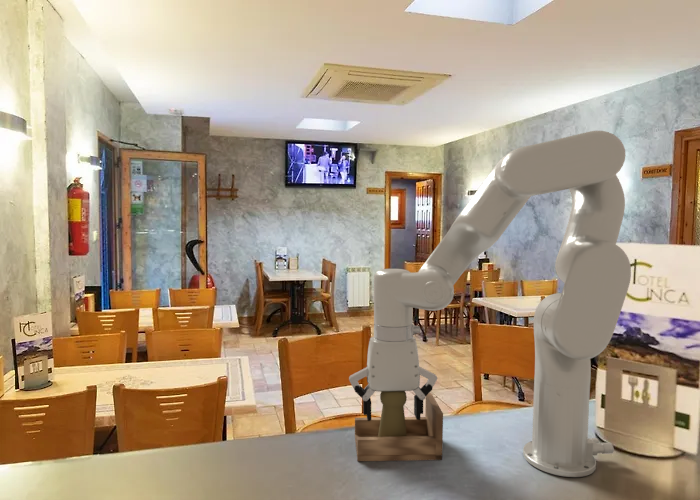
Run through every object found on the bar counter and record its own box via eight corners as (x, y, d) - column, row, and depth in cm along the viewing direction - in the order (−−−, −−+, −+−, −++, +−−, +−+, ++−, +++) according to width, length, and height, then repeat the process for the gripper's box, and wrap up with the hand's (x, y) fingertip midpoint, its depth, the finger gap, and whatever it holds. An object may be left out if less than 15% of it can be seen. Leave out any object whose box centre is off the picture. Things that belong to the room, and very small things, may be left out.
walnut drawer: (430, 434, 101) (431, 393, 101) (442, 459, 91) (443, 413, 90) (354, 435, 101) (355, 393, 100) (357, 461, 90) (357, 414, 90)
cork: (406, 451, 92) (407, 395, 91) (374, 447, 93) (375, 392, 92) (409, 437, 98) (410, 384, 97) (379, 434, 99) (380, 381, 98)
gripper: (433, 327, 98) (432, 409, 99) (348, 328, 97) (348, 411, 99) (441, 336, 91) (440, 424, 92) (349, 337, 90) (350, 427, 91)
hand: (393, 417), depth 95 cm, fingers open, 9 cm apart
